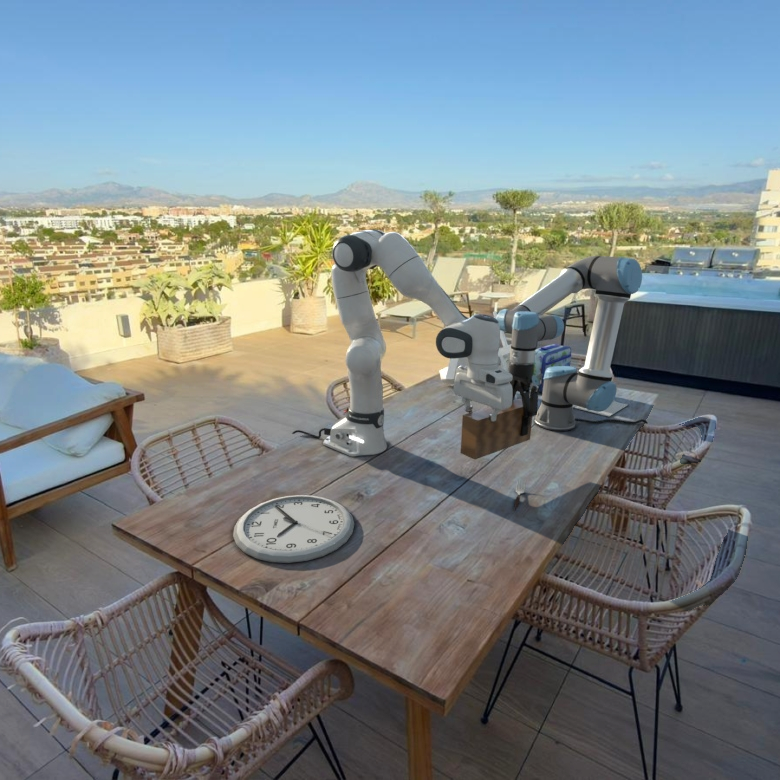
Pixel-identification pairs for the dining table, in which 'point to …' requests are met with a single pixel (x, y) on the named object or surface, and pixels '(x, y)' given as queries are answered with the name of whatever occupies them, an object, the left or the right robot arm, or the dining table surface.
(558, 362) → the lunch box
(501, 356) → the white plastic object
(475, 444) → the box
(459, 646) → the dining table surface
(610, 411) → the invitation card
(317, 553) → the wall clock
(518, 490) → the fork
